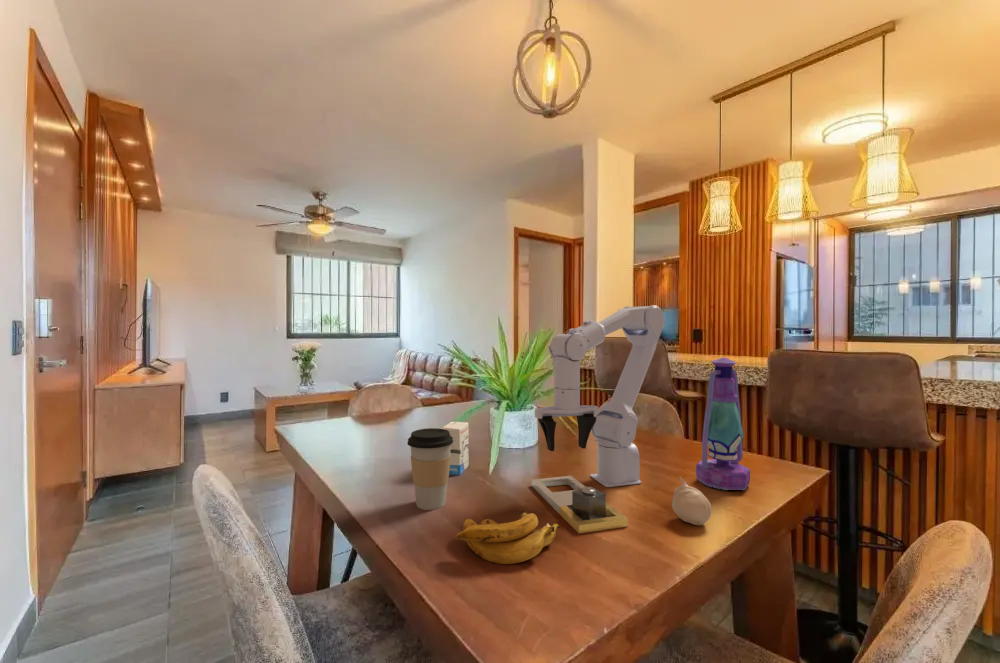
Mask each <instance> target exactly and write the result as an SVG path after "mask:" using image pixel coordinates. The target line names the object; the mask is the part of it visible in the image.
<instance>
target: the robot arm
mask: <svg viewBox="0 0 1000 663" xmlns="http://www.w3.org/2000/svg"><path fill="white" fill-rule="evenodd" d="M665 323H666V321H665V316H664V313H663V311H662V309H661V307H659V306H658V305H656V304H655V305H654V304H653V305H646V306H645V305H644V306H642V305H641V306H624V307H622V308H619V309H617V311H616V312H614V313H612V314H611V315H609V316H608V317H605V318H604V319H603V320H601V321H599V322H598V321H596V320H590V319H587V320H584V321H582V325H579V326H577V327H576V328H570V329H568V332H567V333H566V334H565V333H558V334H556V335H555V336H553V338H552V339H551V341H550V345H549V346H548V353H549V354H550V356H551V359H552V365H553V371H554V372H553V373H554V374H553V406H545V407H537V408H534V418H536V419H537V421H538V422H539V424H540V426H541V429H542V431H543V435H544V437H545V438H544V439H545V442H546V447H547V450H548V451H550V452H554V451H555V434H556V427H557V421H556V420H554V418H560V417H561V418H563V417H576V422H577V428H578V429H577V430H578V440H577V441H578V442H577V443H578V447H579V448H581V449H587V444H588V440H589V437H590V433H591V434H592V435H593V437H594V439H595V440H594V442H597V445H596V446H597V450H596V451H597V452H596V453H597V458H596V459H597V460H596V461H597V464H596V465H597V466H596V468H597V469H596V470H597V473H591V474H589V475H590V478H592V479H594V480H595V481H596V482H597V483H600V485H602V486H604V487H605V488H613V487H621V486H630V485H639V484H642V480H640V464H641V462H640V459H641V458H640V452H639V449H638V446H636V444H635V443H633V442H634V441H635V439H636V436H637V426H638V422H639V418H638V417H637V414H636V413H635V412H634V410H633V408H634V406H635V403H636V400H637V398H638V395H639V394H640V390H641V388H642V385H643V383H644V381H645V380H644V379H645V378H646V376H647V372H648V370H649V367H650V366H651V365H650V364H651V363H652V359H653V358H654V354H655V352H656V349H657V346H658V342H659V339H660V336H661V334H662V331H663V328H664V327H665ZM620 329H621V330H622V332H623V334H624V335H625V337H626V339H627V341H628V342H630V343H631V345H632V346H631V350H630V352H629V354H628V357H627V359H626V362H625V364H624V366H623V369H622V371H621V374H620V377H619V380H618V381H617V384H616V386H615V389H614V392H613V394H612V396H611V399H610V401H608V402H606V403H604V404H602V405H601V406H600V407H599V406H597V405H594V404H593V405H592V404H590V405H584V404H583V405H581V360H582V359H584V357H585V356H586V353H587V352H588V351H589V350H592V349H593V348H595V347H597V346H598V345H600V344H603V342H604V341H605V339H606V336H607V335H609V334H612V333H614V332H616V331H618V330H620Z"/></svg>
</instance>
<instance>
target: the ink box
mask: <svg viewBox="0 0 1000 663" xmlns="http://www.w3.org/2000/svg"><path fill="white" fill-rule="evenodd" d="M442 429H445V430H448V431H449V432H450V436H452V438H453V439H452V440H453V443H452V444H451V451H450V454H451V458H450V468H449V476H461V475H462V474H463V473H464V472H465V471H466V469H467V468H468V467H469V464H470V463H469V461H470V460H469V459H470V458H469V422H465V421H464V422H463V421H451V422H448V423H447V424H446V425H444V426H443V427H442Z"/></svg>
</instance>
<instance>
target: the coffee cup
mask: <svg viewBox="0 0 1000 663" xmlns="http://www.w3.org/2000/svg"><path fill="white" fill-rule="evenodd" d="M452 439H453V438H452V436H450V432H449V431H448V430H445V429H443V428H437V427H436V428H435V427H434V428H432V427H430V428H420V429H417V430H414V431H411V433H410V437H409V438H407V445H408V446H409V447H410V462H411V474H412V482H413V487H414V497H415V506H416V507H417V508H418V509H421V510H423V511H434V510H438V509H440V508H443V507H444V506H446V498H447V489H448V482H449V476H450V475H449V468H450V458H451V454H450V451H451V444H452V443H453V440H452Z"/></svg>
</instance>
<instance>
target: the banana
mask: <svg viewBox="0 0 1000 663" xmlns="http://www.w3.org/2000/svg"><path fill="white" fill-rule="evenodd" d="M519 515H520V517H521V518H519V519H517V520H513V521H510V522H504V523H503V522H502V523H498V522H495V521H494V520H493V519H491V518H487V519H483V520H481V521H480V524H478V523H476V522H475V521H474V520H473V519H472V518H467V519H465V520H464V522H463V524H462V531H460V532H458V533H457V534H456V539H457V540H461V541H462V540H465V542H466V544H467V545H468V547H469V549H471V550H472V551H473V552H474V553H475V554H476V555H477V556H478V557H479V558H482V559H483V560H486V561H488V562H491V563H494V564H501V565H512V564H513V565H514V564H519V563H522V562H525V561H528V560H531V559H532V558H535V557H536V556H538V555H539V554H540V553H541V551H542V550H543V548H545V547H547V546H549V545H550V544H551V543H553V541H554V540H555V538H556V536H557V534H556V533H557V530H558V529H560V528H561V526H560V525H559V524H558V523H553V524H552V525H550V524H549V523H548V522H547V523H546V524H545V525H543V527H541V528H539V529H536V528H537V527H538V525H539V519H538V517H537V515H536V514H535V513H533V512H532V513H527V511H525V510H523V511H522V510H521V511H520V512H519Z"/></svg>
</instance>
